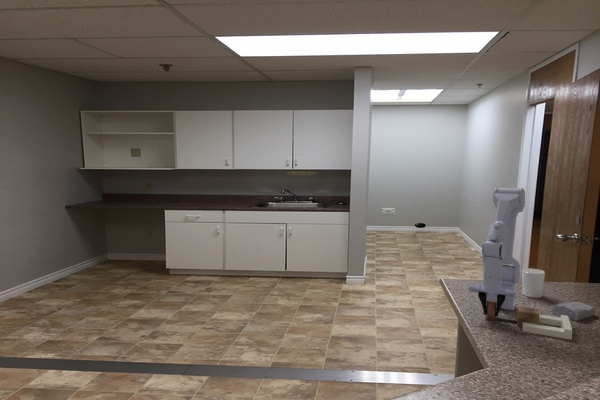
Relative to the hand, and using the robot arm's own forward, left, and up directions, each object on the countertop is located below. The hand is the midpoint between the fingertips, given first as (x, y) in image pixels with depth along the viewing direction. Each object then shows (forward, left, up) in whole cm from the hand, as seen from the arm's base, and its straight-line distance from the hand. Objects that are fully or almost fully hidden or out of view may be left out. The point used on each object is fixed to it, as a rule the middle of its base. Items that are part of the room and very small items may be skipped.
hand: (490, 314), depth 137 cm
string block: (+6, 0, -1) cm, 6 cm away
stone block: (+25, +19, -2) cm, 31 cm away
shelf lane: (+15, 0, -1) cm, 15 cm away
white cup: (+13, +35, -2) cm, 37 cm away
